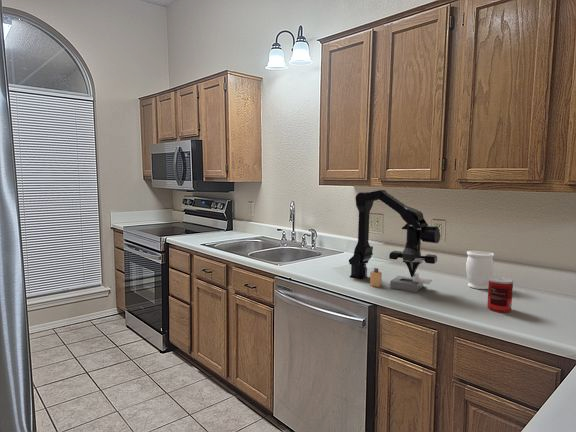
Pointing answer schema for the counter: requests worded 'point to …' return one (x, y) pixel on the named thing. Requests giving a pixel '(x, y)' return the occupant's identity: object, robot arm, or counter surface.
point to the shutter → (420, 279)
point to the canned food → (500, 294)
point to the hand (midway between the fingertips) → (412, 277)
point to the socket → (405, 284)
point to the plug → (375, 278)
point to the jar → (479, 268)
